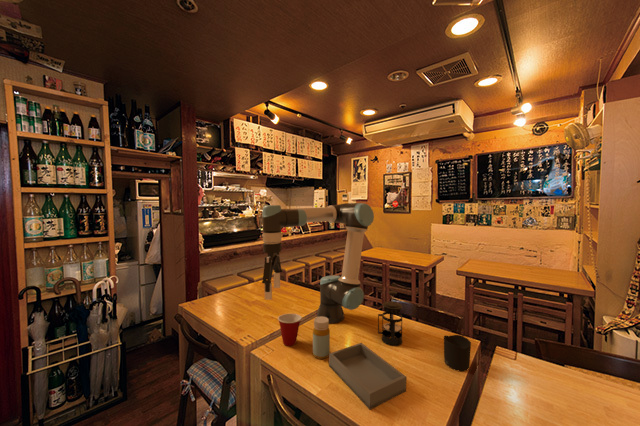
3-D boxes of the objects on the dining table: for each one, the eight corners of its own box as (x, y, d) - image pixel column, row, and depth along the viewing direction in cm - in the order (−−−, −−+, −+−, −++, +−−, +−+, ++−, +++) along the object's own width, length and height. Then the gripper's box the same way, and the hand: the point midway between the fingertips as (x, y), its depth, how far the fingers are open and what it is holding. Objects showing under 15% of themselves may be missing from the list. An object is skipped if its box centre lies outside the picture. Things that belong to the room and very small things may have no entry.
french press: (402, 336, 120) (403, 289, 120) (405, 347, 111) (406, 296, 111) (377, 334, 123) (378, 287, 122) (378, 344, 114) (378, 294, 113)
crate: (361, 354, 106) (361, 342, 106) (406, 391, 85) (406, 376, 85) (329, 366, 98) (329, 353, 98) (369, 409, 77) (369, 393, 77)
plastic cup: (303, 337, 120) (303, 312, 119) (299, 350, 109) (299, 322, 108) (281, 335, 121) (281, 311, 120) (274, 348, 110) (274, 321, 110)
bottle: (310, 357, 104) (310, 321, 103) (316, 348, 110) (316, 314, 110) (325, 361, 101) (326, 324, 101) (331, 352, 108) (332, 317, 107)
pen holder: (445, 354, 106) (445, 331, 106) (471, 363, 101) (471, 338, 100) (441, 366, 99) (441, 341, 98) (469, 375, 93) (469, 349, 93)
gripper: (271, 238, 117) (272, 283, 117) (252, 247, 92) (254, 304, 93) (287, 238, 116) (288, 283, 117) (273, 247, 91) (273, 305, 92)
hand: (272, 293), depth 105 cm, fingers open, 13 cm apart
